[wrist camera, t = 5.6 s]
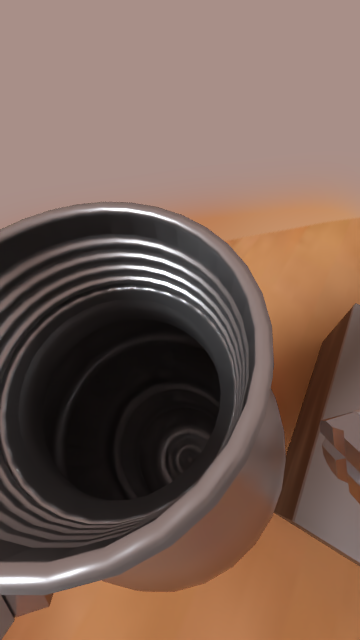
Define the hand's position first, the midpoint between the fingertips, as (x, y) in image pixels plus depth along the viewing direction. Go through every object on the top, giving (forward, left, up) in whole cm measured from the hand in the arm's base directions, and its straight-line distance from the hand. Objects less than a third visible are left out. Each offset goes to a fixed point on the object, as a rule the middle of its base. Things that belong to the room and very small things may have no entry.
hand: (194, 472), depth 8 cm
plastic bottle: (+1, -1, -13) cm, 13 cm away
